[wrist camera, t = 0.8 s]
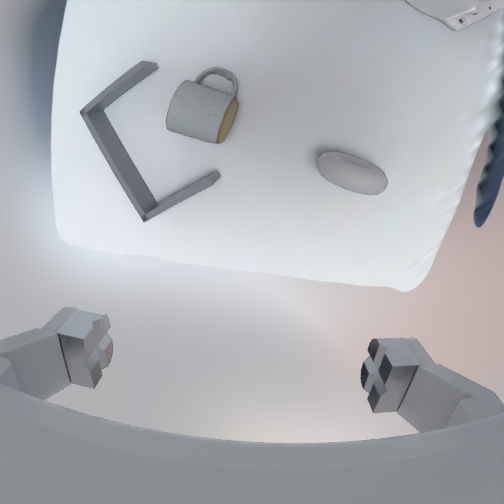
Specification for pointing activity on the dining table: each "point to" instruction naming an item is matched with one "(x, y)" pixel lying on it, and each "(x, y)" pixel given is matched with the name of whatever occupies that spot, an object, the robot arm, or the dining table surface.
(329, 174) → the donut
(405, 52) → the dining table surface
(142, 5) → the dining table surface
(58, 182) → the dining table surface
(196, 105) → the ceramic mug
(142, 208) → the box
